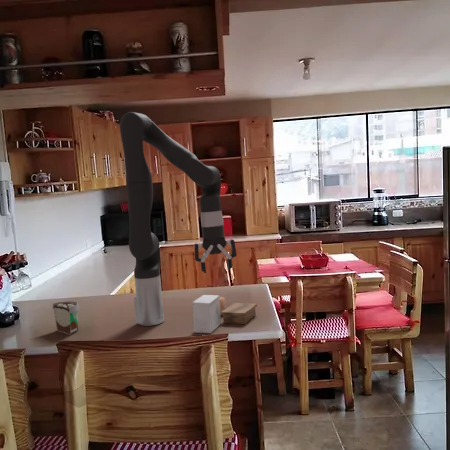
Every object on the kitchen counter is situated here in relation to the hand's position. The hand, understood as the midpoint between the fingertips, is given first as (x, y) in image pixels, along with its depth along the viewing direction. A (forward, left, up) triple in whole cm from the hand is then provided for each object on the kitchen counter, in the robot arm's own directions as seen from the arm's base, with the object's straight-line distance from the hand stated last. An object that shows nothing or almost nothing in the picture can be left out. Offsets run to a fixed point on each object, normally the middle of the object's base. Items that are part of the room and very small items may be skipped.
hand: (217, 271), depth 167 cm
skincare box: (-3, -4, -19) cm, 20 cm away
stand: (+4, +8, -19) cm, 21 cm away
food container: (-52, -16, -19) cm, 58 cm away
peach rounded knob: (-6, +12, -19) cm, 23 cm away
